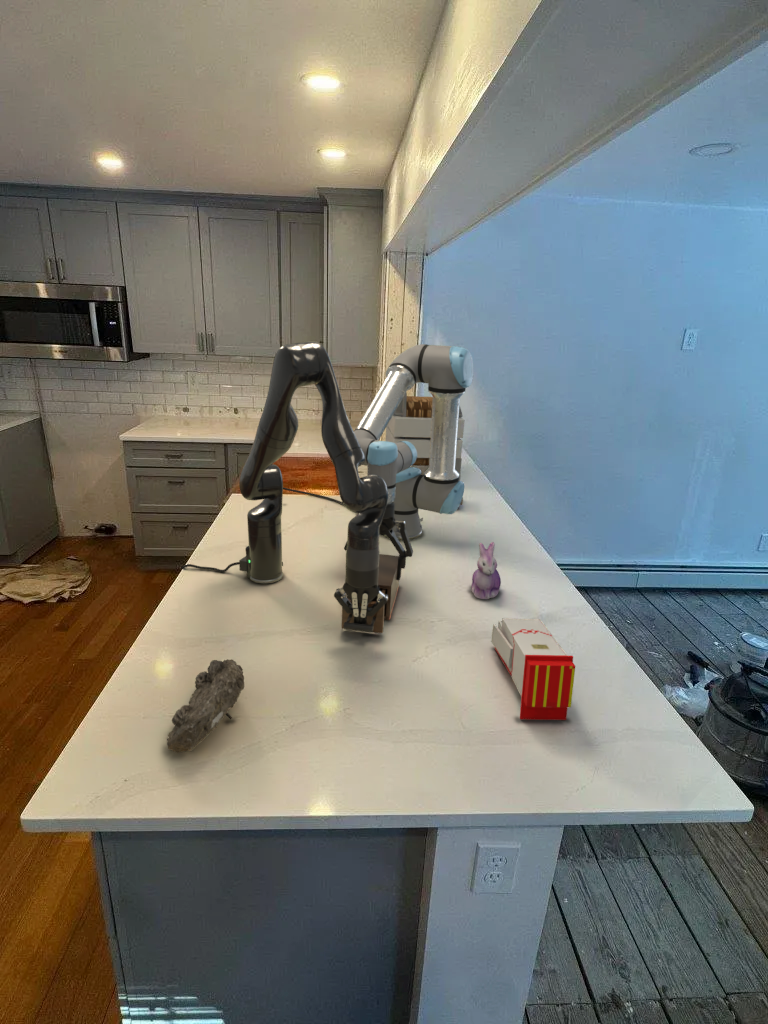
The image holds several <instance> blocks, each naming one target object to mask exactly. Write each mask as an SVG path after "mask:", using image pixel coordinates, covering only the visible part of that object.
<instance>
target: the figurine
mask: <svg viewBox="0 0 768 1024" xmlns="http://www.w3.org/2000/svg"><path fill="white" fill-rule="evenodd" d="M478 550H479V558H478V560H477V563H476V566H477V569H476V570H475V571H473V574H472V577H471V587H470V588H471V589H470V590H471V593H472V594H473V595H474V597H475V598H477V599H481V600H489V599H490V598H492V599H493V598H495V597H497V596H498V594H499V592H500V588H501V586H502V585H501V584H502V580H501V575H500V573H499V570H498V569H497V568H498V562H497V560H496V557H495V555H494V551H495V542H494V541H491V542H490V543H489V545H488V546H487V548H486V547H485V545H484V544H483V543H482V542H479V544H478Z"/></svg>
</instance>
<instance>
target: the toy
mask: <svg viewBox="0 0 768 1024" xmlns="http://www.w3.org/2000/svg"><path fill="white" fill-rule="evenodd" d="M490 638H491V639H490V642H491V644H492V646H493V647H494V650H495V652H496V654H497V655H498V657H499V659H500V660H501V662H502V664H503V666H504V667H505V669H506V671H507V672H508V674H509V676H510V677H511V679H512V681H513V683H514V685H515V688H516V690H517V691H518V693H519V695H520V697H521V698H520V710H519V719H520V720H534V721H535V720H539V721H567V716H568V708H572V701H573V692H574V684H575V674H576V673H575V672H576V665H575V663H574V656H573V655H568V654H567V653H566V652H565V650H564V649H563V648H562V646H561V645H560V644H559V643H558V641H557V640H556V639H555V637H554V636H553V634H552V633H551V632H550V631H549V629H548V628H547V626H546V624H545V623H543V621H542V620H541V619H540V618H505V617H503V618H501V620H498V622H497V624H495V623H493V624H492V632H491V637H490Z"/></svg>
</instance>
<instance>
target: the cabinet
mask: <svg viewBox="0 0 768 1024" xmlns="http://www.w3.org/2000/svg"><path fill="white" fill-rule="evenodd" d="M398 557H399V555H392V554H382V553H379V558H380V562H379V575H378V585H379V587H380V588H382V589H387V595H388V600H387V605H386V610H385V613H384V621H390V620H391V616H392V613H393V610H394V606H395V602H396V599H397V596H398V592H399V588H400V580H397V571H398ZM346 597H347V598H348V596H347V595H346Z"/></svg>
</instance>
